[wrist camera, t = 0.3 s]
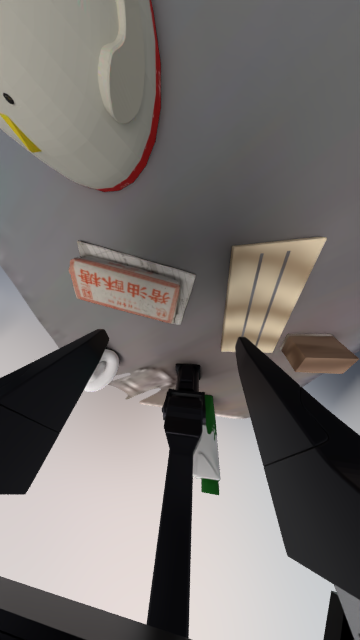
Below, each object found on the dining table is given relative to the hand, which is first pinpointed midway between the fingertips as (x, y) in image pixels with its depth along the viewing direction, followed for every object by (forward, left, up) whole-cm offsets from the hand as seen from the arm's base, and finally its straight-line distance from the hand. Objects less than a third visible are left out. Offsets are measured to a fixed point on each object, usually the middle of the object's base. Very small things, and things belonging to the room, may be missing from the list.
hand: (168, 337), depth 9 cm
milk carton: (-44, -1, -15) cm, 46 cm away
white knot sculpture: (-20, +25, -15) cm, 35 cm away
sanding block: (-15, -22, -14) cm, 30 cm away
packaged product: (-2, +8, -15) cm, 17 cm away
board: (-7, -11, -14) cm, 20 cm away
